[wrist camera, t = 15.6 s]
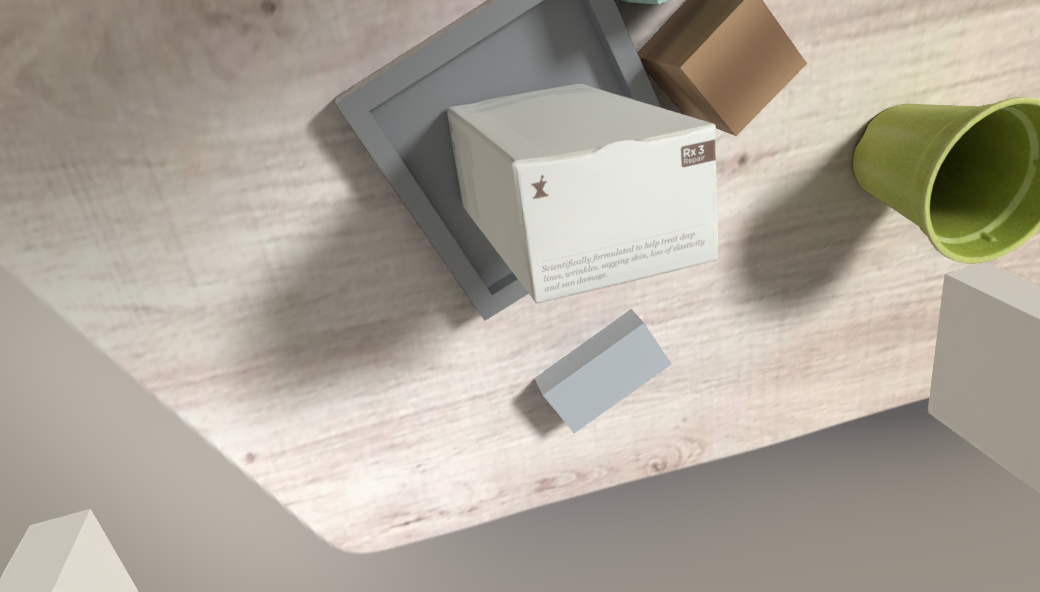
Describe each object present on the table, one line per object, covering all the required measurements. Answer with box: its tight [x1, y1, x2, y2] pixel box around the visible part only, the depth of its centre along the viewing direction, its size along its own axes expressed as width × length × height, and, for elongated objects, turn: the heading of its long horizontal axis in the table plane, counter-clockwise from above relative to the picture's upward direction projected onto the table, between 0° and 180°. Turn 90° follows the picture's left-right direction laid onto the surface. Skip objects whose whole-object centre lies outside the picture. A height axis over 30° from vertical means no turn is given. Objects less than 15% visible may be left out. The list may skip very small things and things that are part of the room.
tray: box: [335, 0, 661, 321], centre depth 39 cm, size 15×15×2 cm
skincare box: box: [447, 84, 718, 303], centre depth 33 cm, size 8×6×15 cm
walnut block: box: [638, 0, 807, 136], centre depth 38 cm, size 5×5×6 cm
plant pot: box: [853, 97, 1040, 264], centre depth 42 cm, size 9×9×9 cm
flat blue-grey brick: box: [534, 309, 671, 433], centre depth 47 cm, size 8×4×2 cm, turn 124°
